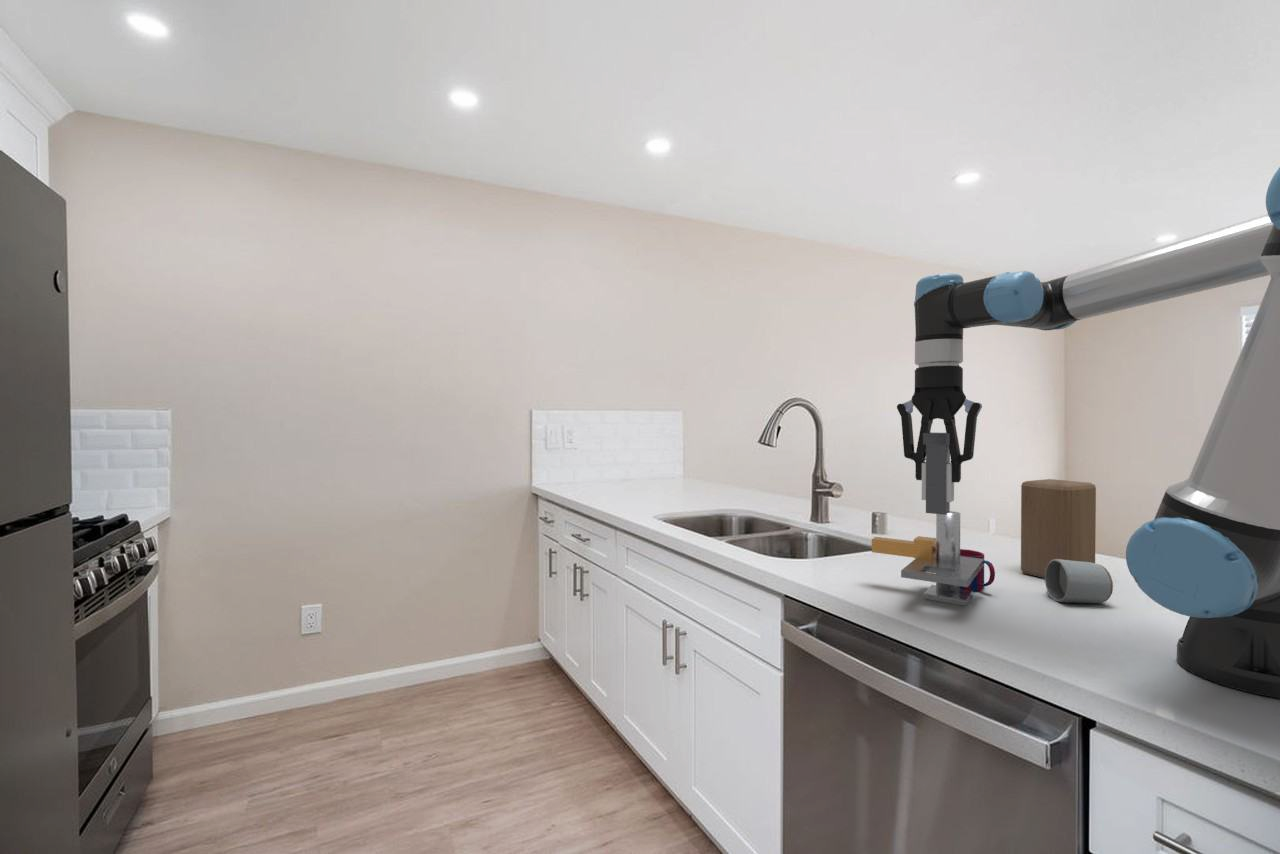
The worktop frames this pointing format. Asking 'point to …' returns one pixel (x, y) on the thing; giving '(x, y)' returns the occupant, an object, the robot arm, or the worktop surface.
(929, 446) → the wedge pin
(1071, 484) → the block
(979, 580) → the cup
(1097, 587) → the grey cylinder
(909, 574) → the grey plate with post
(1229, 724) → the worktop surface
